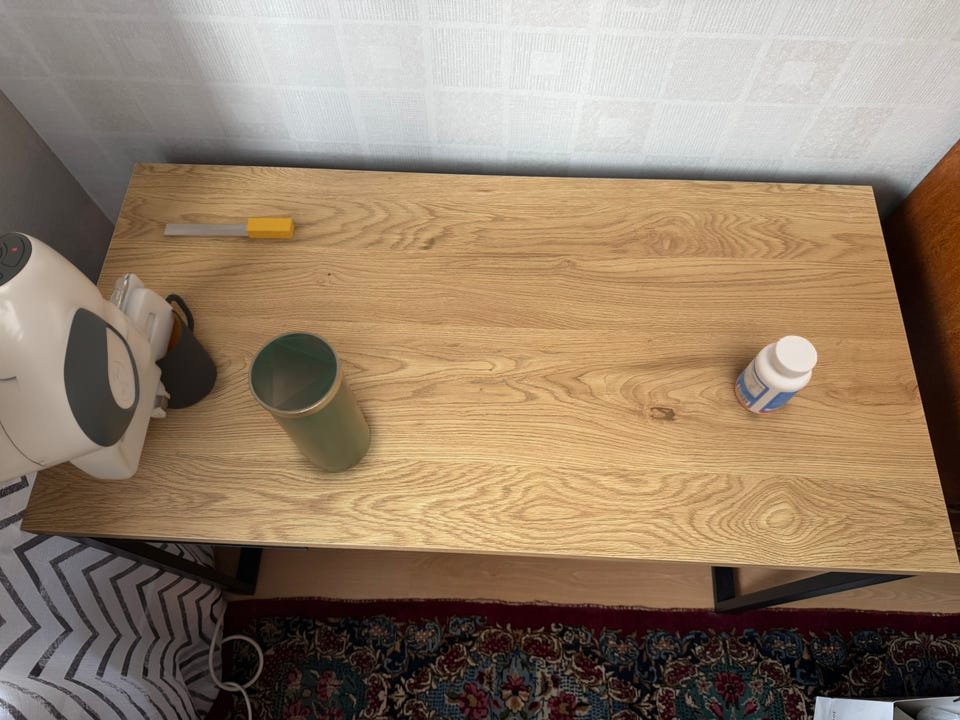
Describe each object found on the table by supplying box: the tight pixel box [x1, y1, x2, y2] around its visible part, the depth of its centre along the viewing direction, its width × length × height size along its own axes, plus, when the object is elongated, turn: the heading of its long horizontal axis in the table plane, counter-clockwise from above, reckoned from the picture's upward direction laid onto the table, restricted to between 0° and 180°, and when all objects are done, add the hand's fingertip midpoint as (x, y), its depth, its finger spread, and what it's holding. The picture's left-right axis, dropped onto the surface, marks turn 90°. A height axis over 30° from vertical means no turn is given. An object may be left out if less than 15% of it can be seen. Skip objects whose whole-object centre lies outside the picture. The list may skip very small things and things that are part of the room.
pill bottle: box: [734, 335, 818, 415], centre depth 74 cm, size 6×6×11 cm
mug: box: [155, 293, 217, 410], centre depth 75 cm, size 8×12×10 cm
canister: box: [247, 330, 372, 473], centre depth 67 cm, size 8×8×20 cm
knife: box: [163, 217, 296, 240], centre depth 88 cm, size 18×2×2 cm, turn 89°
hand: (161, 406), depth 73 cm, fingers closed
